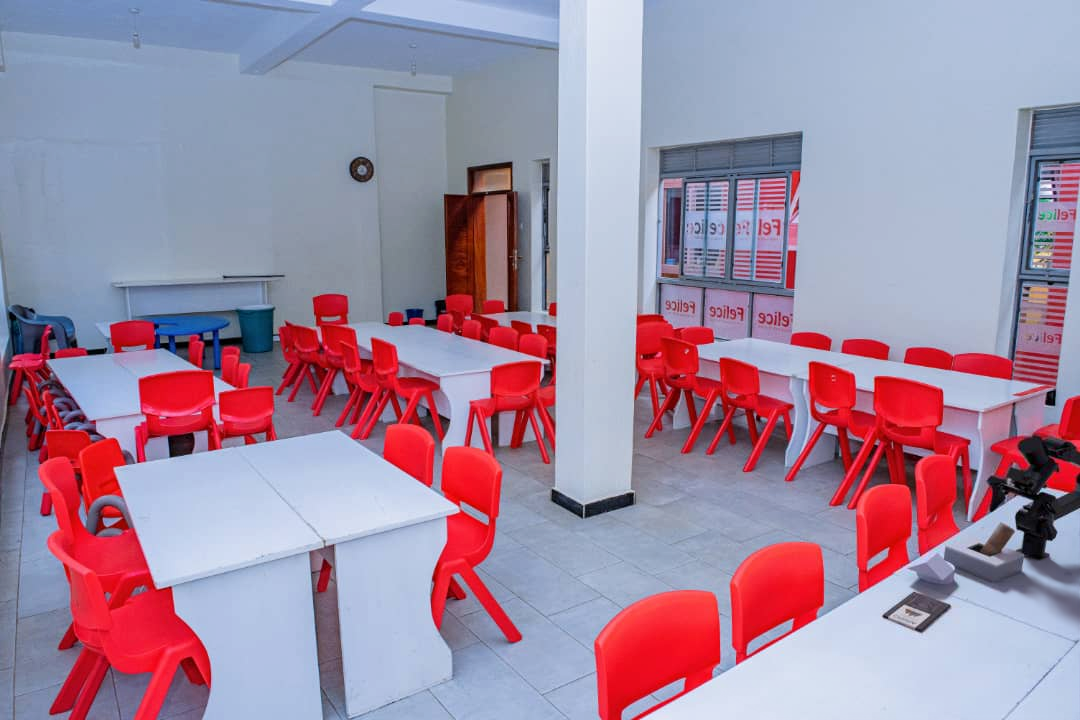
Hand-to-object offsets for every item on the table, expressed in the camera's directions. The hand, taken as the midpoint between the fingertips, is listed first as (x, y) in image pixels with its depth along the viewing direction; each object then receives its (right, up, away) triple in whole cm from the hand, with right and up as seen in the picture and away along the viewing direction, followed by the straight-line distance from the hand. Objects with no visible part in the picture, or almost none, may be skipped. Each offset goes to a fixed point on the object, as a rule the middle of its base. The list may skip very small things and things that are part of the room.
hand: (1005, 517), depth 213 cm
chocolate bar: (-37, -19, -25) cm, 48 cm away
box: (-7, -14, 0) cm, 15 cm away
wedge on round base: (-24, -15, -8) cm, 30 cm away
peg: (-7, -12, 0) cm, 14 cm away
